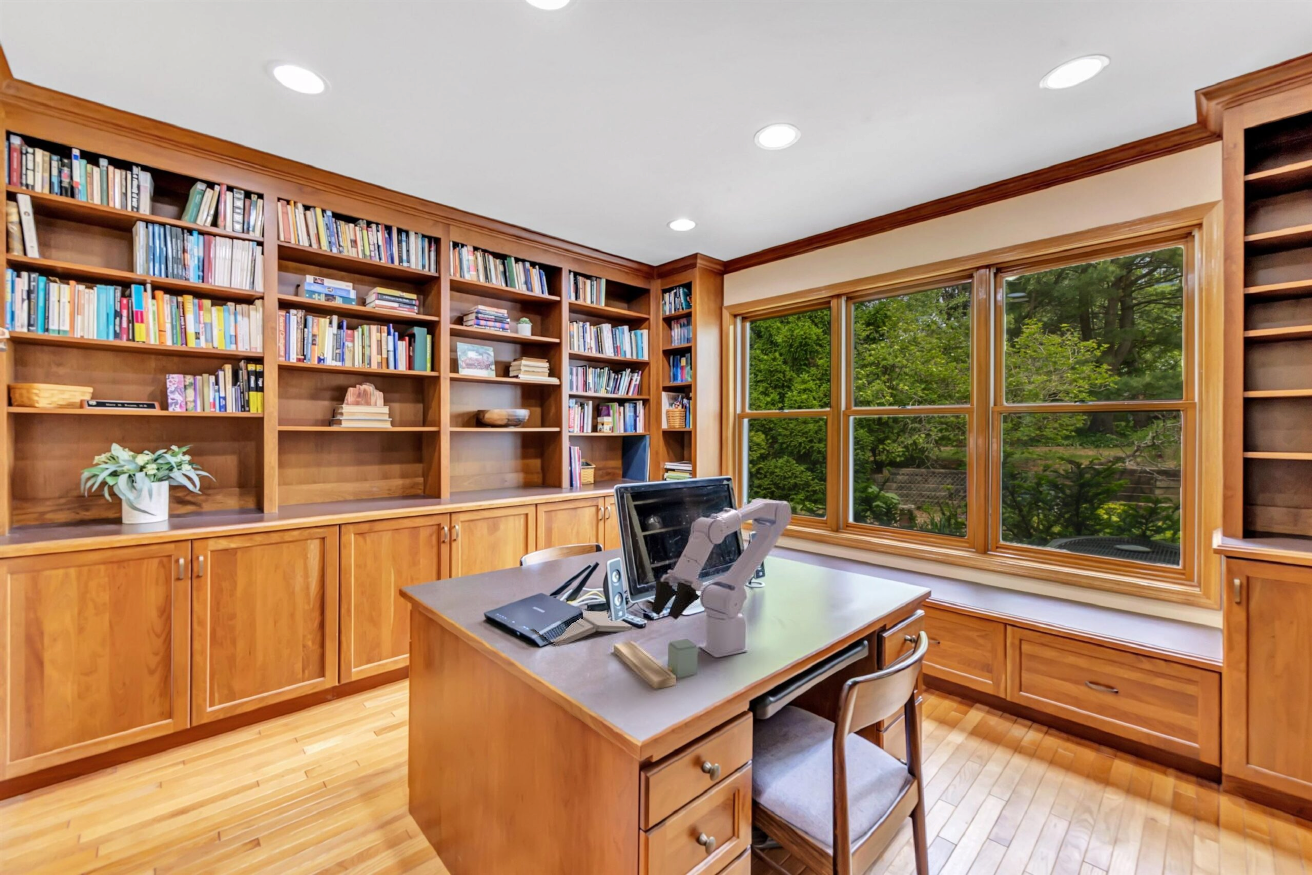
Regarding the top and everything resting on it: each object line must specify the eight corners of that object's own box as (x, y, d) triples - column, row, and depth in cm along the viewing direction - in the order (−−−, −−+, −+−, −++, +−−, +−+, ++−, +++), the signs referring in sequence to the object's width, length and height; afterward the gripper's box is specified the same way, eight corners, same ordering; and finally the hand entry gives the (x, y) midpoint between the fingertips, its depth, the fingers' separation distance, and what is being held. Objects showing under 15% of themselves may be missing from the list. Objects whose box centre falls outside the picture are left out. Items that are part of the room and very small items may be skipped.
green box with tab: (686, 666, 127) (687, 638, 127) (697, 673, 123) (697, 645, 123) (663, 671, 124) (663, 642, 124) (672, 679, 120) (673, 649, 120)
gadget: (605, 616, 163) (605, 603, 163) (633, 631, 151) (633, 618, 150) (532, 630, 150) (532, 617, 150) (556, 649, 137) (556, 634, 137)
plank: (632, 648, 137) (632, 640, 137) (675, 684, 118) (675, 676, 117) (613, 651, 135) (614, 644, 135) (654, 689, 115) (655, 680, 115)
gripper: (663, 552, 135) (635, 602, 129) (696, 554, 122) (667, 609, 117) (683, 568, 137) (657, 617, 131) (718, 571, 124) (690, 626, 119)
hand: (663, 614), depth 124 cm, fingers open, 7 cm apart
